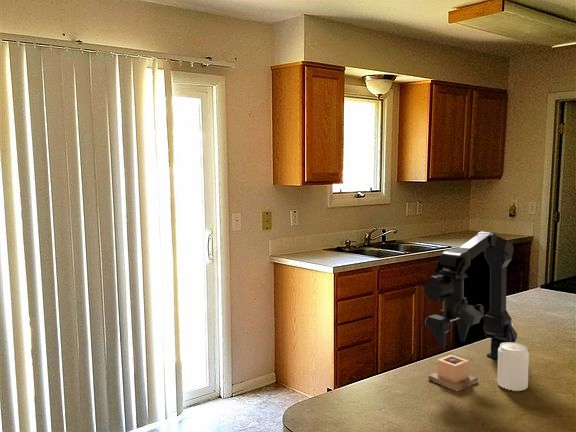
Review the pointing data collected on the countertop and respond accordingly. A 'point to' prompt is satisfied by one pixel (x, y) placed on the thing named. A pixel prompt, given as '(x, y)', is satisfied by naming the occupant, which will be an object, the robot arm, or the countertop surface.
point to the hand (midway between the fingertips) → (452, 345)
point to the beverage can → (513, 366)
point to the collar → (453, 368)
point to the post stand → (451, 384)
